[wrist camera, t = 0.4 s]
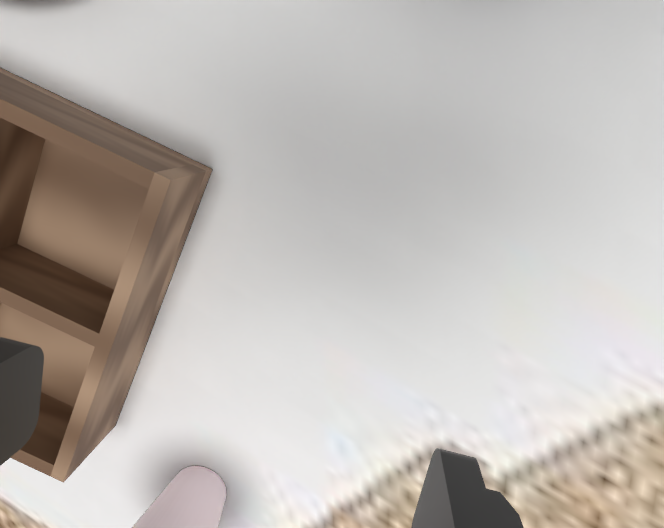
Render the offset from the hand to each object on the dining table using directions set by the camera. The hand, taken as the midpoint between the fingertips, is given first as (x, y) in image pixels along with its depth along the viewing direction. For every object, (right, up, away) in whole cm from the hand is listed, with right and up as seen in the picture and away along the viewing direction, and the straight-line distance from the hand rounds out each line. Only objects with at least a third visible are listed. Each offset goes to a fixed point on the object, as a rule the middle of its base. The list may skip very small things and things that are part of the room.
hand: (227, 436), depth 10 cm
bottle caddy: (-17, +5, +20) cm, 27 cm away
